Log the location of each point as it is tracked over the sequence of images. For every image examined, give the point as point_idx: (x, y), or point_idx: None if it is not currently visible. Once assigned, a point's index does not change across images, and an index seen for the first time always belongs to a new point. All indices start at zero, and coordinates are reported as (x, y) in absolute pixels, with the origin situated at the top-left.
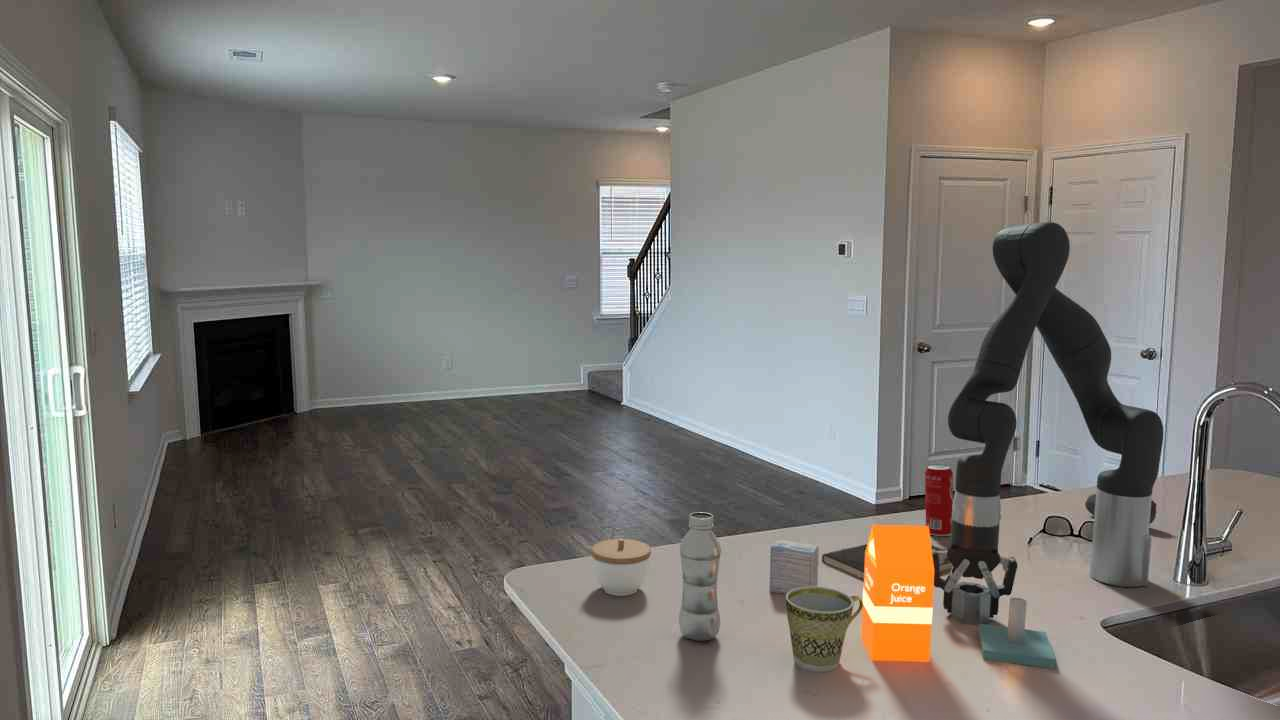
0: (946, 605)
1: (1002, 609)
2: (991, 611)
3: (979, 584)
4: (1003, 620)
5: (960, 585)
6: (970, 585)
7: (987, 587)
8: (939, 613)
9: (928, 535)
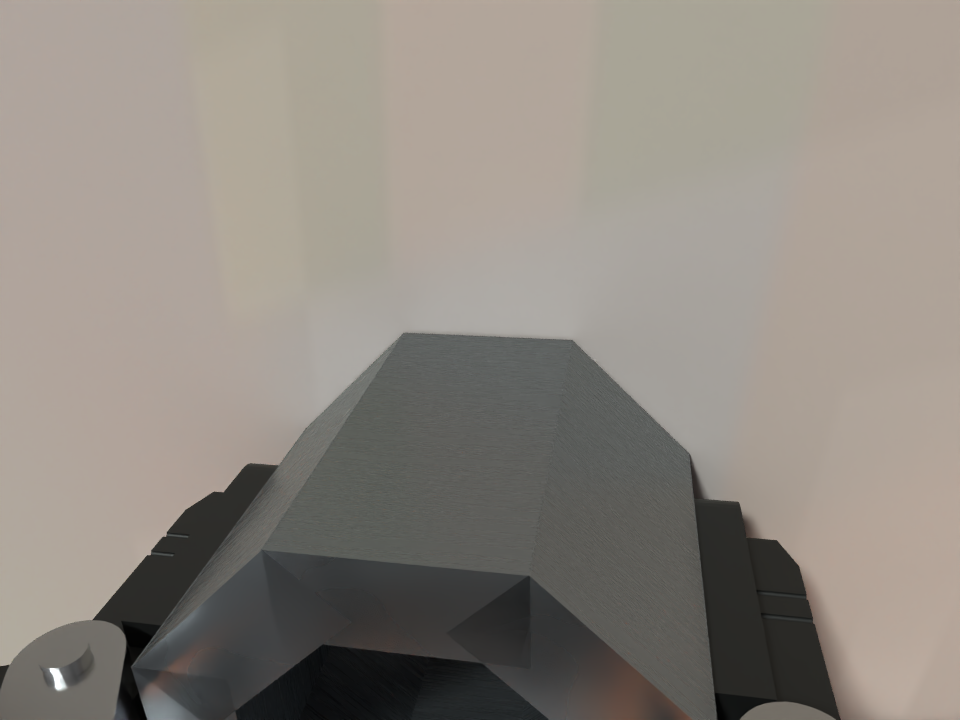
0: None
1: (948, 172)
2: None
3: (553, 619)
4: (851, 507)
5: (249, 692)
6: (400, 646)
7: (684, 716)
8: (214, 475)
9: None
